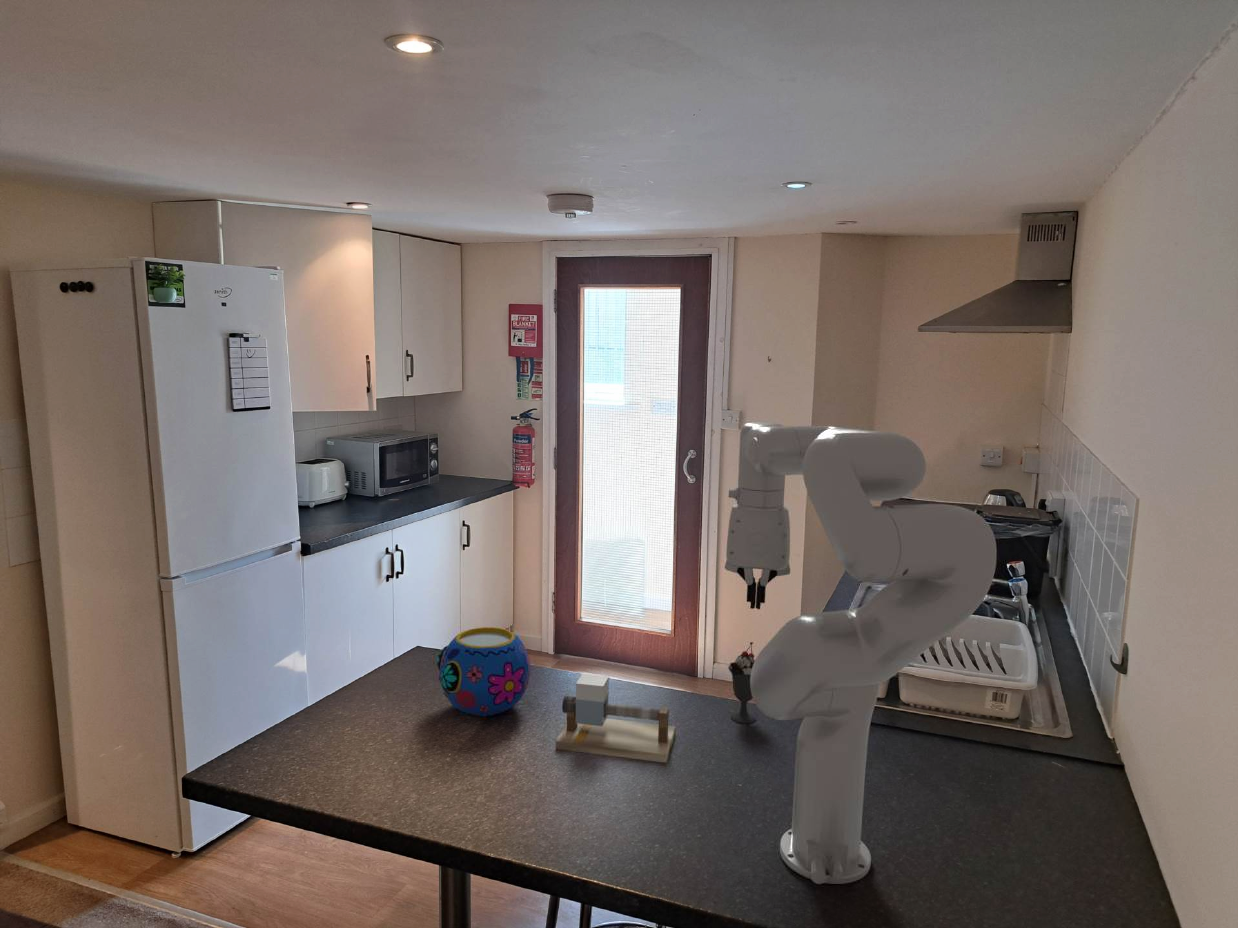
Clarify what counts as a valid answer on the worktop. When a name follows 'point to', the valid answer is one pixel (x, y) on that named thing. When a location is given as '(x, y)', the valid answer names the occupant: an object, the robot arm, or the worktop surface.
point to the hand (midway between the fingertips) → (755, 606)
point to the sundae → (742, 685)
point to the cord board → (619, 733)
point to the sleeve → (591, 699)
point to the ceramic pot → (484, 670)
